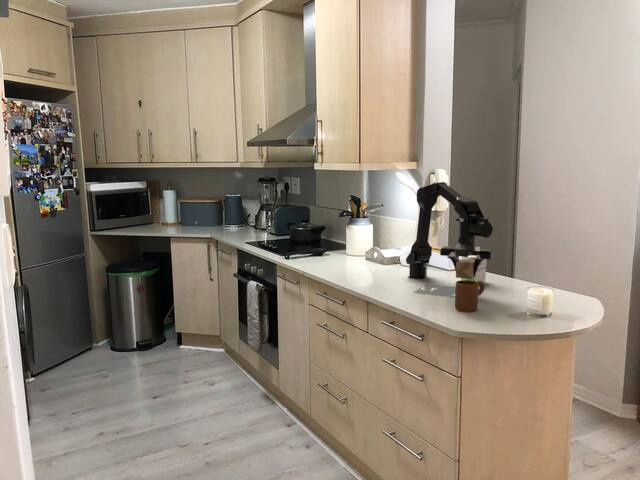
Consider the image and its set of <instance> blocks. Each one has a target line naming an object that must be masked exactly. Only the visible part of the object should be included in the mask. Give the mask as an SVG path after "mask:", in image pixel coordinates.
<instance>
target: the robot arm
mask: <svg viewBox="0 0 640 480" xmlns="http://www.w3.org/2000/svg"><path fill="white" fill-rule="evenodd" d="M439 197H442V198H443V199H445V200H446V201H447V202H448V203H449V204H451V205H452V207H454V209H453V210H454V211H455V212H456V213H457V214H458V217H457V218H456V219H455V221H456V222H459V228H458V229H459V231H458V232H459V233H458V234H459V235H458V241H457V243H456V245H455V246H450V245H449V246H448V245H447V246H446V245H444V246H443V247H441V248H440V250H439V253H440V254H439V255H440V256H442V257H443V256H444V257H447V259H449V260H450V261H451V262H452V264H453V267H454V270H455V272H456V262H457V261H458V260H460V258H459V257H461V258H462V257H468V256H469V255H474V256H476V257H477V258H476V259H475V265H474V276H475V275H476V273H477V270H478V268H479V265H480V263H481V262H482V261H483V260H485V259H486V260H491V259H493V258H494V253H495V252H494V250H493V249H492V248H491V249H489V248H487V249H486V248H482V249H480V251H475V247H476V237H480V238H485V239H486V238H489V237H490V236H492V233H493V230H494V229H493V228H494V227H493V225H492V223H490V222H489V218H487V217H485V216H484V213H483V212H482V209H481V208H480V205H479V202H478V201H477V200H475V199H472V198H470V197H466V196H463V195H461V194H460V193H459V192H458V191H456V190H455V189H453V188H452V187H450V185H448V184H447V182H445V181H435V182H432V183H431V184H429V185H425V186H421V187H419V188H418V189H417V191H416V202H417V204H418V207H419V212H418V222H417V230H416V237H415V238H416V240H415V241H414V243H413V244H412V245H411V249H410V252H409V254H408V255H407V257H406V258H405V263H406V264H407V265H409V274H408V275H409V276H407V278H408V279H415V280H417V279H418V280H423V279H425V278H426V277H428V267H427V264H429V263H430V259H431V256H433V255H432V253H433V246H431V244H430V243H429V237H430V236H429V235H430V227H431V220H432V211H433V208H434V206H435V205H436V204H437V201H438V198H439Z"/></svg>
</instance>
